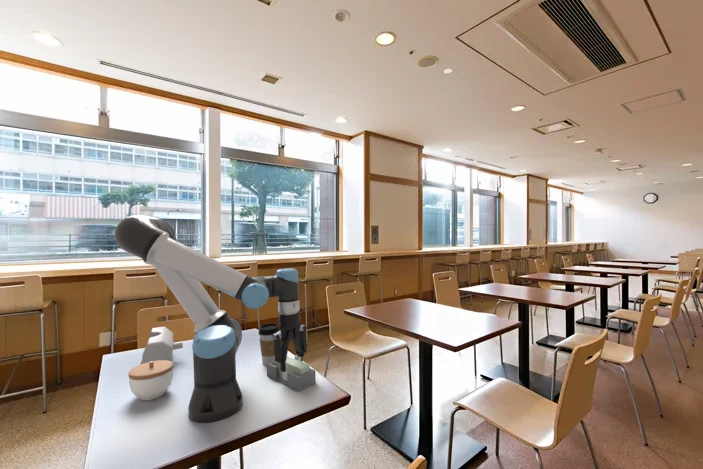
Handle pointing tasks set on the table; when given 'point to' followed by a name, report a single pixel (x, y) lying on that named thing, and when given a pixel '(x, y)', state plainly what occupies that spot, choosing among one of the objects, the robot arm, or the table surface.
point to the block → (294, 367)
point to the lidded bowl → (151, 379)
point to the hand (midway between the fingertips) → (292, 376)
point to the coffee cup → (267, 342)
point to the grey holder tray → (292, 378)
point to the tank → (160, 346)
